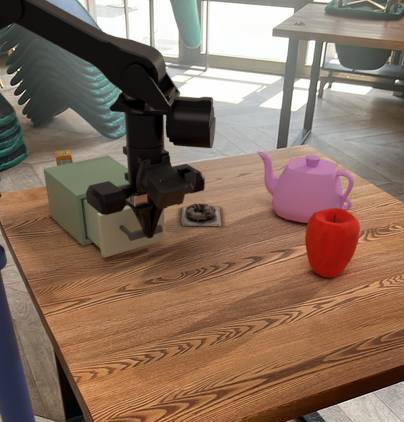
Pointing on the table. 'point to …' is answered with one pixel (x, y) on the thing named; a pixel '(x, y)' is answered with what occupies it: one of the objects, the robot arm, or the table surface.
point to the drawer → (117, 230)
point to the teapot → (306, 187)
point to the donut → (201, 215)
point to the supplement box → (63, 157)
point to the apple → (331, 241)
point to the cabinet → (78, 190)
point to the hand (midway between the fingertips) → (149, 237)
